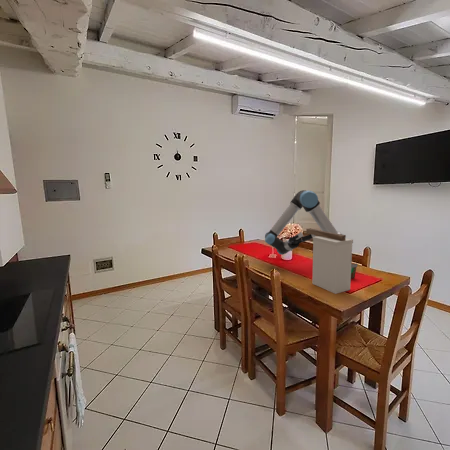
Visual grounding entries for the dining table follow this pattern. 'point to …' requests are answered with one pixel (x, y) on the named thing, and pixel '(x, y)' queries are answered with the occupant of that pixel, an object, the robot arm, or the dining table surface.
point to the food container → (353, 270)
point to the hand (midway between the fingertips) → (310, 232)
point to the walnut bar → (326, 234)
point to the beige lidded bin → (332, 264)
